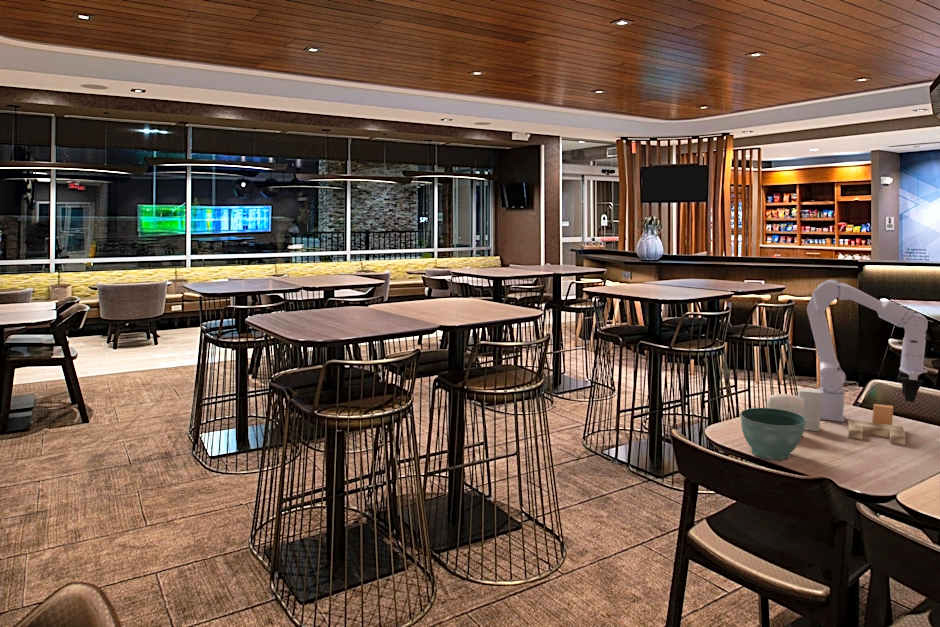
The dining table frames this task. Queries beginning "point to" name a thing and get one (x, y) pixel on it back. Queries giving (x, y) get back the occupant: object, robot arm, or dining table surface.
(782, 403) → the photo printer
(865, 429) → the notched board
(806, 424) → the skincare box
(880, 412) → the orange brown rectangular block
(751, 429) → the green bowl
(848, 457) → the dining table surface
